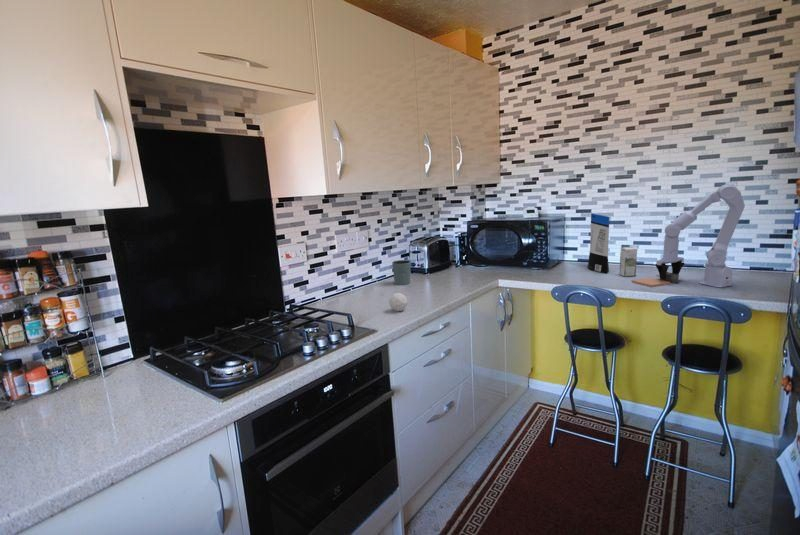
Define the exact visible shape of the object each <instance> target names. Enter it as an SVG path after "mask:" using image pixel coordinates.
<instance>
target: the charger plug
mask: <svg viewBox="0 0 800 535" xmlns="http://www.w3.org/2000/svg"><path fill="white" fill-rule="evenodd" d="M656 277H657V278H659V280H663V279H660V275H659V273H658V274H656ZM679 278H680V273H679V274H675V273H672V272H670V271H667V273H666V279H665V280H663V281H668V282H670V284H672V285H674V284H679Z"/></svg>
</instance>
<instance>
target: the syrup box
mask: <svg viewBox="0 0 800 535" xmlns="http://www.w3.org/2000/svg"><path fill="white" fill-rule="evenodd" d="M619 258H620V259H619V275H620V276H622V277H636V276H637V273H636V272H637V259H638V248H637V247H635V246H622V247H621V246H620V256H619Z"/></svg>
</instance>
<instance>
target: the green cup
mask: <svg viewBox="0 0 800 535" xmlns="http://www.w3.org/2000/svg"><path fill="white" fill-rule="evenodd" d="M391 262H392V271H393V279H394V282H393V283H394V284H395V285H396V286H406V285H410V284H411V268H412V267H411V266H412V263H411V262H412V261H411V260H407V259H400V260H399V259H398V260H394V261H391Z"/></svg>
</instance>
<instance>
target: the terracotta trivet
mask: <svg viewBox="0 0 800 535" xmlns="http://www.w3.org/2000/svg"><path fill="white" fill-rule="evenodd" d="M631 283H633V284H637V285H641V286H645V287H649V288H655V287H661V286H667V285H670V284H671V283H670V282H668V281H663V280H660V278H659V279H657V278H654V277H644V278H638V279H636V278H635V279H632V280H631Z"/></svg>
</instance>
